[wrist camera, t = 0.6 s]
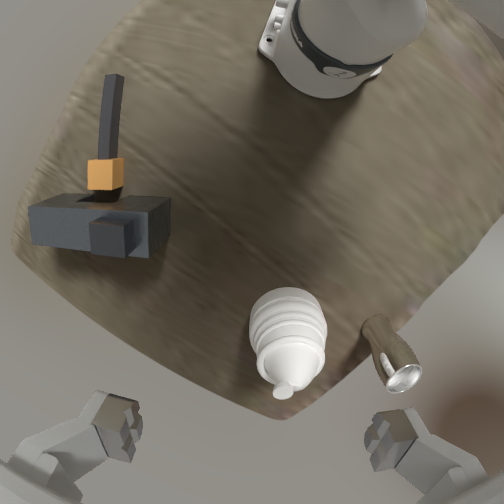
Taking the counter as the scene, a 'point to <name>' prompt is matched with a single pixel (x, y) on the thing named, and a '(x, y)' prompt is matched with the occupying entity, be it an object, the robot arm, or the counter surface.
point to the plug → (108, 139)
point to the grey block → (101, 224)
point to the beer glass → (391, 355)
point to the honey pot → (288, 339)
